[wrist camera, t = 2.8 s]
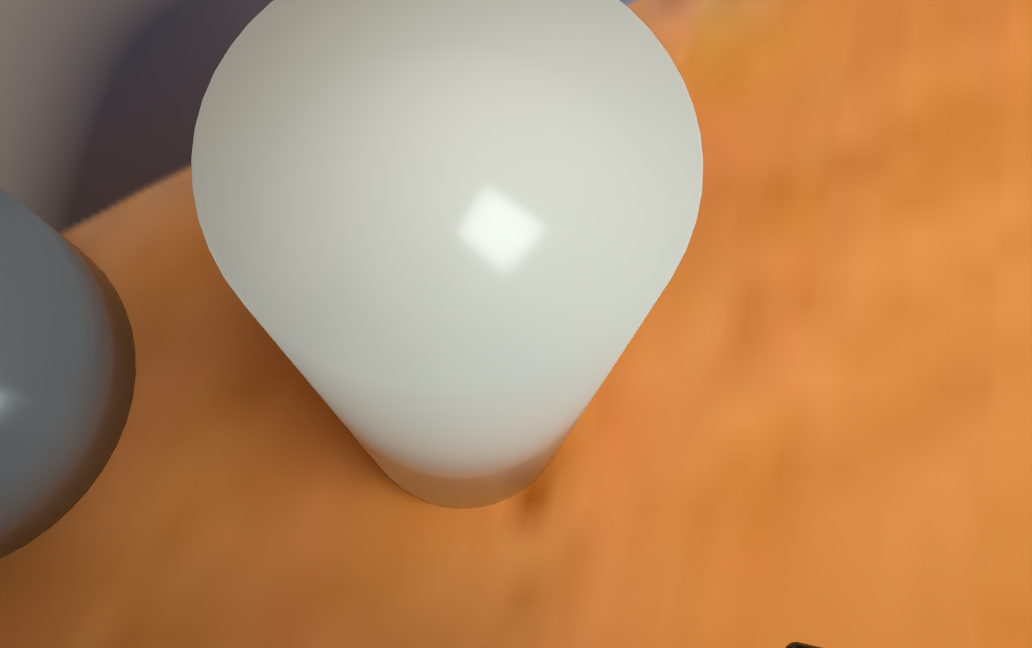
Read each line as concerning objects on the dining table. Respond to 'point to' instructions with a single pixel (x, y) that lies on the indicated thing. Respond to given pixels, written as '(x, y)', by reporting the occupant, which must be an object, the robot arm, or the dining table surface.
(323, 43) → the tapered white cylinder
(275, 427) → the dining table surface
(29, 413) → the plinth
